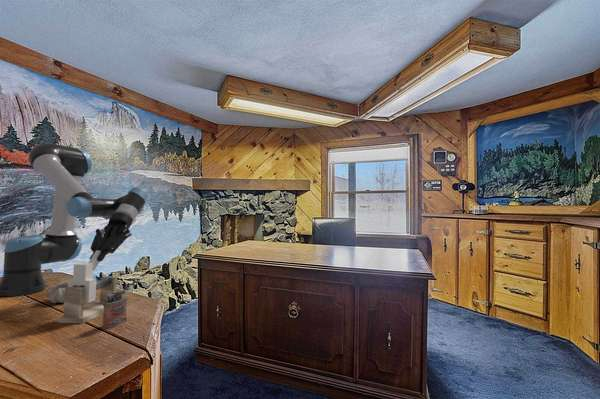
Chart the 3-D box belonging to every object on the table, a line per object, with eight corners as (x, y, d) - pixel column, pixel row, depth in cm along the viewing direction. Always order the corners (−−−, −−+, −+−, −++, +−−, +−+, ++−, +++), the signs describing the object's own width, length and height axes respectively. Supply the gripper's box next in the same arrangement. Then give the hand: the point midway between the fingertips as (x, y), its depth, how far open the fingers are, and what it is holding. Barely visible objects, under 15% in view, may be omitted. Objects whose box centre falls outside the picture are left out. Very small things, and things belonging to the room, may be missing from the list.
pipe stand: (99, 304, 109) (100, 275, 109) (120, 305, 109) (121, 276, 109) (57, 322, 91) (59, 288, 91) (82, 323, 91) (84, 288, 91)
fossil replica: (47, 307, 105) (81, 304, 113) (52, 284, 106) (85, 282, 113) (41, 298, 113) (73, 295, 120) (45, 276, 113) (77, 275, 121)
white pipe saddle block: (74, 299, 97) (76, 262, 97) (95, 299, 96) (97, 263, 97) (67, 302, 94) (69, 264, 94) (88, 302, 93) (90, 264, 94)
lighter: (108, 330, 86) (110, 295, 86) (98, 328, 87) (100, 294, 87) (129, 320, 94) (130, 288, 94) (120, 319, 95) (121, 288, 95)
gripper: (143, 224, 118) (113, 275, 101) (111, 224, 118) (76, 274, 101) (135, 211, 113) (103, 262, 96) (102, 210, 113) (64, 261, 96)
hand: (90, 268), depth 98 cm, fingers closed
